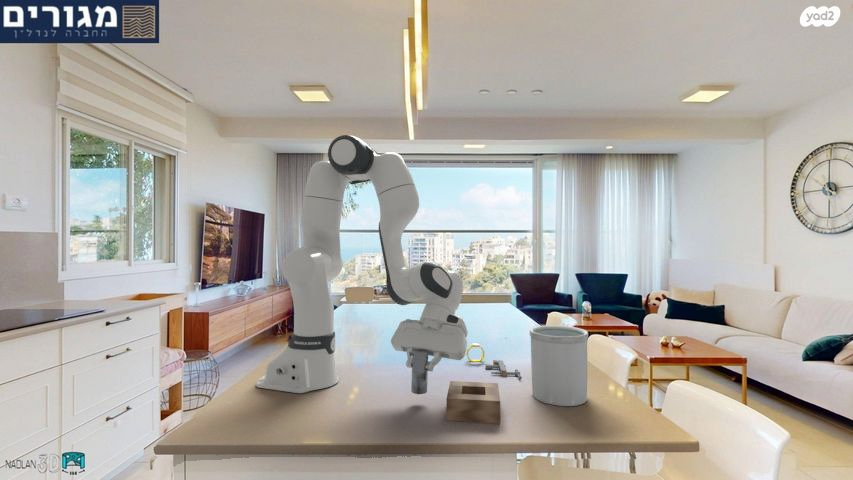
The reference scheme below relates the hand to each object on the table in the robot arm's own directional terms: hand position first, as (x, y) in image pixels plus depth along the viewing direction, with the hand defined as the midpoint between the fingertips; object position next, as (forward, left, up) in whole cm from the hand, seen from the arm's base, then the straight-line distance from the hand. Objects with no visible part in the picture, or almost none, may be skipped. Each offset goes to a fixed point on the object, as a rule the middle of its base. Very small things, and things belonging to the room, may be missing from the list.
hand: (418, 368), depth 102 cm
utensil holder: (+36, +11, -9) cm, 38 cm away
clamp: (+22, +30, -10) cm, 38 cm away
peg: (0, +1, -6) cm, 6 cm away
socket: (+14, -2, -9) cm, 16 cm away
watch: (+14, +41, -9) cm, 44 cm away
